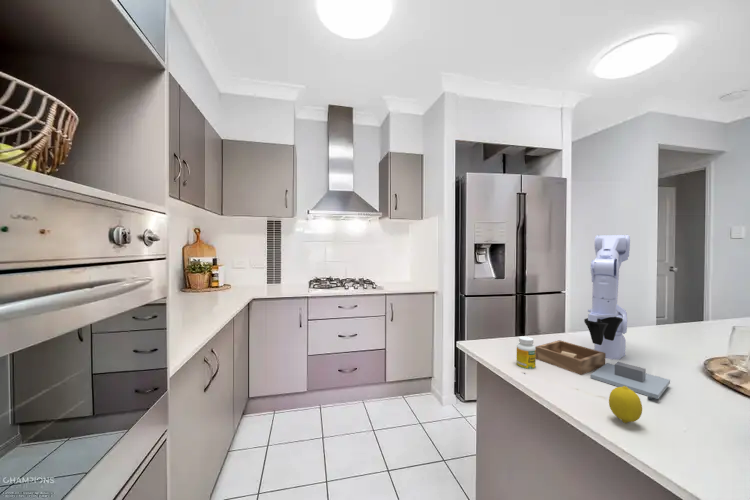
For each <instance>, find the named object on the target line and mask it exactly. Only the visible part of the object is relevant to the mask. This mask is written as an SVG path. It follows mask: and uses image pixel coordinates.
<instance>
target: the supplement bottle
mask: <svg viewBox="0 0 750 500" xmlns="http://www.w3.org/2000/svg"><path fill="white" fill-rule="evenodd" d="M518 341H519V342H518V343H516V365H517V366H518V367H519V368H522V369H527V370H533V369H534V370H535V369H536V360H537V359H536V348H535V347H536V346H535V345H534V338H533V337H529V336H525V335H524V336H523V335H522V336H519V337H518Z"/></svg>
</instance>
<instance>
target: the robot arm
mask: <svg viewBox="0 0 750 500" xmlns="http://www.w3.org/2000/svg"><path fill="white" fill-rule="evenodd" d="M630 249H631V236H630V235H629V234H624V235H623V234H614V235H613V234H609V235H608V234H606V235H605V234H604V235H603V234H602V235H600V234H597V235H595V236H594V252H595V258H594V259H592V260H591V262H590V274H591V283H592V298H591V299H592V301H591V303H592V304H591V308H589V309H587V312H588V313H587V318H584V319H583V321H584V324H585V325H586V327H587V328H588V329H587V330H588V331H589V334H590V339H591V342H592V344H594V350H596V351H600V352H604V353H605V359H608V360H621V359H622V357H625V356H626V343H627V342H626V338H625V336H624V335H625V334H627V331H628V313H627V311H626V309H625V308H623V307H622V306H620V305H619V304H618V296H619V294H618V293H619V279H620V278H619V276H620V268H621V265H622V263H623V262H626V261H627V260H629V258H630Z"/></svg>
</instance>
